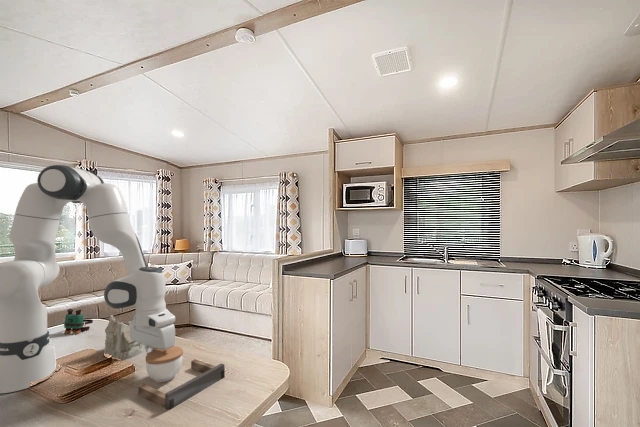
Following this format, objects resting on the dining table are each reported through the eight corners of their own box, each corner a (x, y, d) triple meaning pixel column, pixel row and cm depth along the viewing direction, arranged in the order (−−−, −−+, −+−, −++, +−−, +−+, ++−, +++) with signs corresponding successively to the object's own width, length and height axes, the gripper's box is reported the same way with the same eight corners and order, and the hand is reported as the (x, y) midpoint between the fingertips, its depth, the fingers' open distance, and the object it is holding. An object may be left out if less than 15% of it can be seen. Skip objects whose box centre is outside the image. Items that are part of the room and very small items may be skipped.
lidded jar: (168, 387, 91) (168, 356, 91) (137, 384, 93) (137, 354, 93) (190, 370, 102) (189, 342, 102) (161, 367, 104) (161, 340, 104)
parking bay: (138, 394, 88) (138, 381, 88) (195, 366, 104) (194, 354, 104) (168, 410, 80) (168, 394, 80) (224, 377, 97) (224, 364, 97)
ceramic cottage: (118, 362, 108) (120, 319, 109) (94, 355, 116) (96, 315, 117) (160, 348, 122) (161, 310, 123) (136, 342, 129) (137, 306, 131)
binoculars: (97, 306, 146) (77, 310, 136) (95, 329, 145) (75, 335, 135) (81, 306, 147) (60, 310, 138) (79, 328, 146) (58, 334, 136)
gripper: (124, 314, 104) (124, 354, 104) (160, 323, 94) (160, 368, 94) (142, 309, 109) (143, 347, 109) (178, 317, 99) (179, 360, 99)
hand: (151, 357), depth 101 cm, fingers closed
